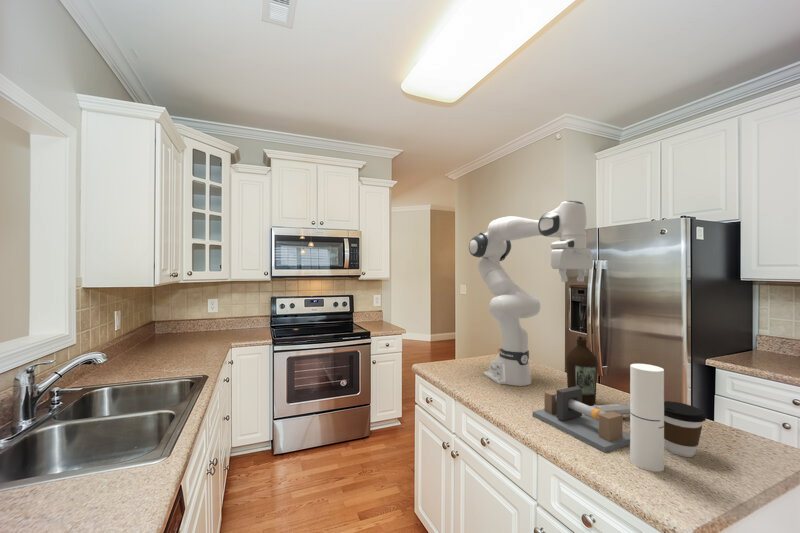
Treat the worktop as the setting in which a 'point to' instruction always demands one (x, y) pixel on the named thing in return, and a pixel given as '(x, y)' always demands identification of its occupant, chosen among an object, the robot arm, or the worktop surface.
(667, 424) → the coffee cup
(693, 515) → the worktop surface
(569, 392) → the collar
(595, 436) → the pipe stand
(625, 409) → the electric toothbrush
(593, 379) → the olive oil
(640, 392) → the cylindrical container
